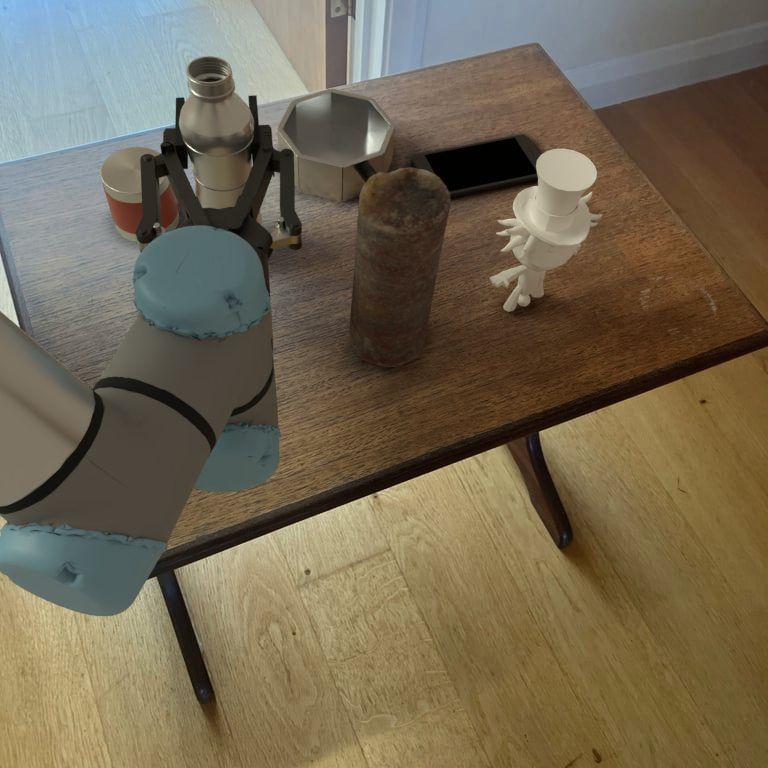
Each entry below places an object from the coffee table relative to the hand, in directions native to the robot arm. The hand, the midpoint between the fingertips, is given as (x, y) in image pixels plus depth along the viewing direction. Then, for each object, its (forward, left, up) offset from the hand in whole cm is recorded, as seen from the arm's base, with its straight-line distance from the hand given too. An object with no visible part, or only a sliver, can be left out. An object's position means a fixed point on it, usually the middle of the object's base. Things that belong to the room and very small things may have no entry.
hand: (217, 108), depth 77 cm
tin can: (-8, -4, -13) cm, 16 cm away
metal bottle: (+2, -5, -12) cm, 13 cm away
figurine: (+32, -3, -14) cm, 35 cm away
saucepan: (+11, +9, -13) cm, 19 cm away
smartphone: (+24, +15, -13) cm, 32 cm away
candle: (+20, -12, -14) cm, 27 cm away
